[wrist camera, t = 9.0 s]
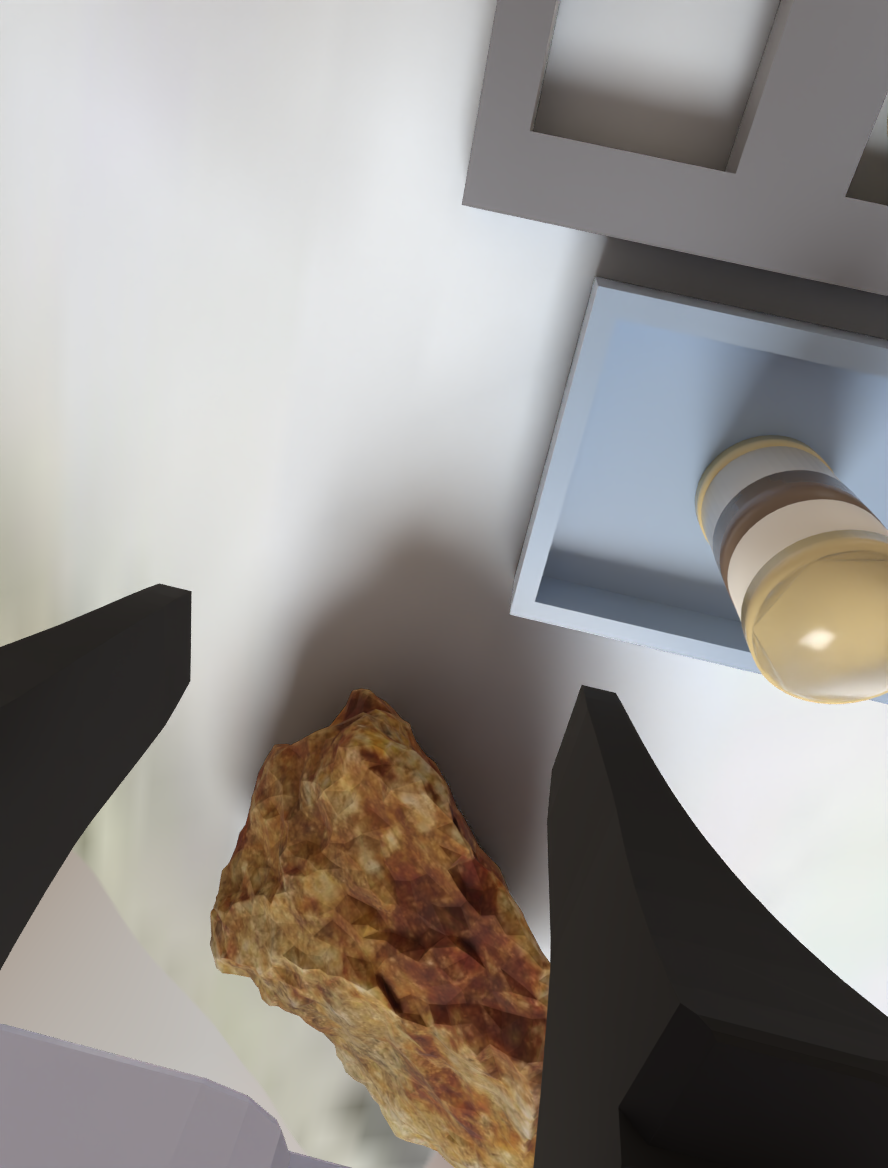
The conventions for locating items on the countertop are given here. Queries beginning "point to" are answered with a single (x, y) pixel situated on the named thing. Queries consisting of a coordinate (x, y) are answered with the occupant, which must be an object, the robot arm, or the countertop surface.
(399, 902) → the rock
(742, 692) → the countertop surface
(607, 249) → the countertop surface
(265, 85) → the countertop surface
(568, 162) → the fuse block
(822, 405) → the parts tray
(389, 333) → the countertop surface
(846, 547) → the scorched fuse
